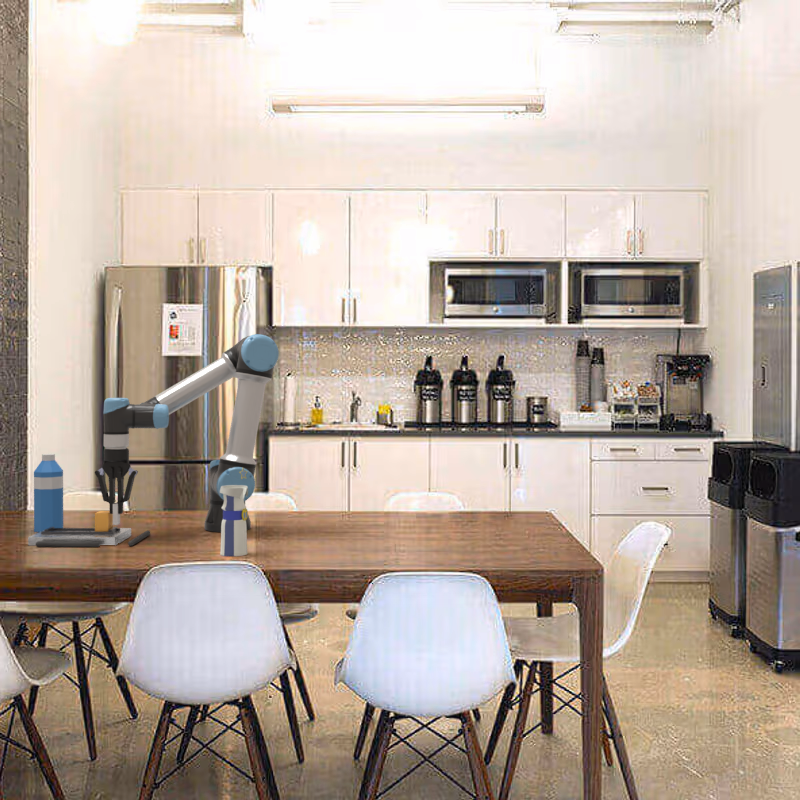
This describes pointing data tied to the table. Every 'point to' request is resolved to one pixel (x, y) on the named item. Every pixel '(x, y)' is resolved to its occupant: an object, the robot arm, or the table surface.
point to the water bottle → (48, 494)
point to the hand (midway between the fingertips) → (116, 524)
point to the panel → (81, 535)
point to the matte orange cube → (103, 521)
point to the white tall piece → (234, 519)
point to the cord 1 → (66, 544)
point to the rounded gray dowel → (139, 538)
